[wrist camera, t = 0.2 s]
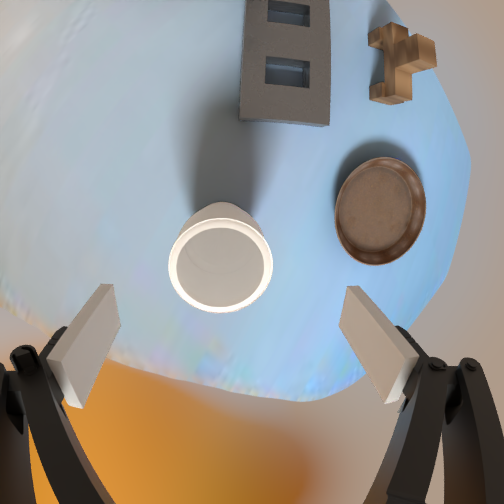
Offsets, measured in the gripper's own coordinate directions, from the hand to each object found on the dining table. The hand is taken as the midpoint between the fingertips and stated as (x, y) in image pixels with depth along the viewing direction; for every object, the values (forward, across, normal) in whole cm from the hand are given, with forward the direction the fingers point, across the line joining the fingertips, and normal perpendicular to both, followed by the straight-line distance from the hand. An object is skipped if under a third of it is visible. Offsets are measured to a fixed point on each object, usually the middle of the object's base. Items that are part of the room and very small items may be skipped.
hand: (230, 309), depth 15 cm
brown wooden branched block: (+28, +23, +25) cm, 44 cm away
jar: (+28, -1, -3) cm, 28 cm away
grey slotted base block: (+28, +7, +25) cm, 38 cm away
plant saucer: (+28, +24, +1) cm, 37 cm away
